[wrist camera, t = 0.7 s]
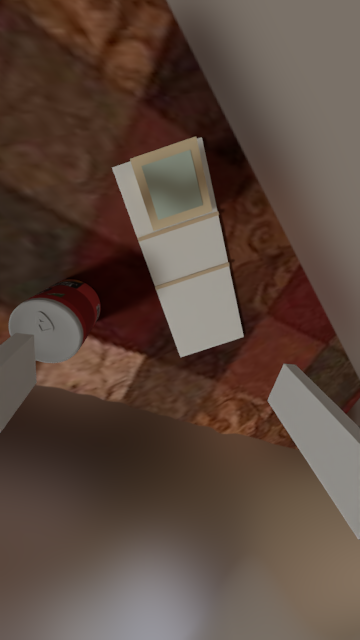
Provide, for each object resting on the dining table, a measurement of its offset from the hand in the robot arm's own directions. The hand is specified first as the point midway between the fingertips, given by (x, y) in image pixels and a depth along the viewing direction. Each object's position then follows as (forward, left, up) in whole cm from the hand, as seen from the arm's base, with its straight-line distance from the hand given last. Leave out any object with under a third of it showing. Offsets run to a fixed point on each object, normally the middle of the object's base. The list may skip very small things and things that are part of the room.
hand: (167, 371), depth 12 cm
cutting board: (0, +5, -25) cm, 25 cm away
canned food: (0, -13, -25) cm, 28 cm away
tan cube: (-10, +5, -24) cm, 27 cm away
